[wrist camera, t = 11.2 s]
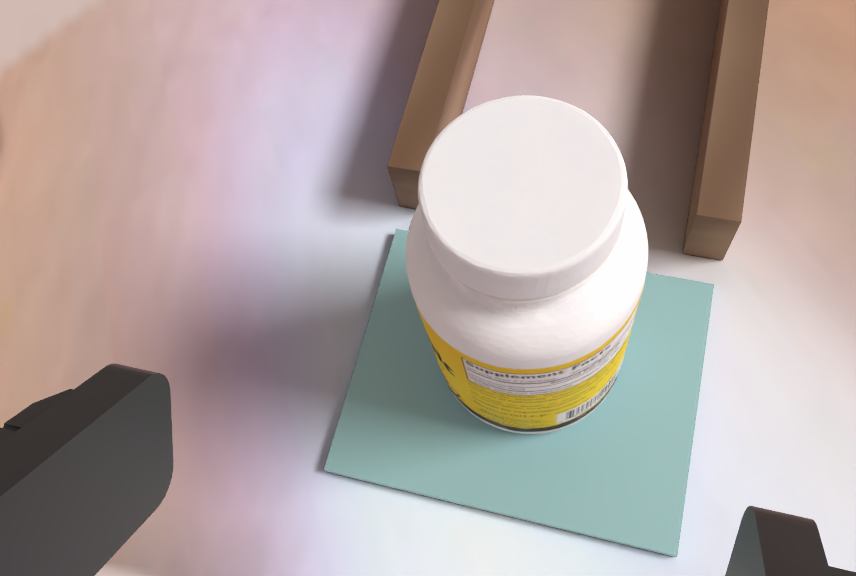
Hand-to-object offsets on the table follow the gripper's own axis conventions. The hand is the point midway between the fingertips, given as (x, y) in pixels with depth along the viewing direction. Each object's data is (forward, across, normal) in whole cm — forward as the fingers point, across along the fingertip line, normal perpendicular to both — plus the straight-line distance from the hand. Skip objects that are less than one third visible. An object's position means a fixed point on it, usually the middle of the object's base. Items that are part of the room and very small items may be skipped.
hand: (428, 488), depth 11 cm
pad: (+13, 0, +5) cm, 13 cm away
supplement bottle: (+13, 0, +4) cm, 14 cm away
